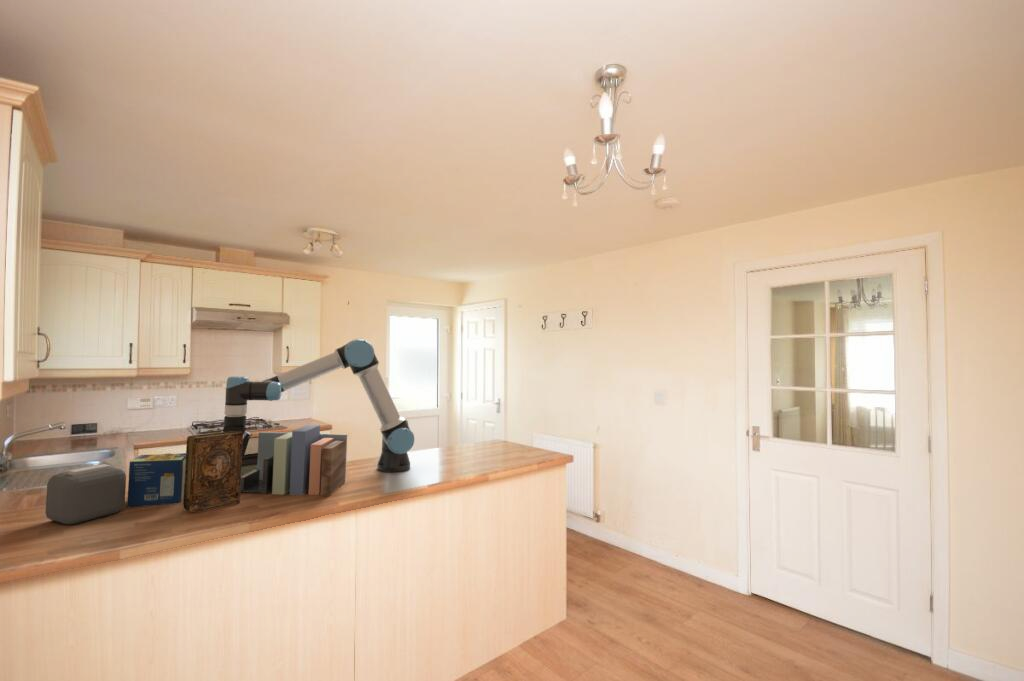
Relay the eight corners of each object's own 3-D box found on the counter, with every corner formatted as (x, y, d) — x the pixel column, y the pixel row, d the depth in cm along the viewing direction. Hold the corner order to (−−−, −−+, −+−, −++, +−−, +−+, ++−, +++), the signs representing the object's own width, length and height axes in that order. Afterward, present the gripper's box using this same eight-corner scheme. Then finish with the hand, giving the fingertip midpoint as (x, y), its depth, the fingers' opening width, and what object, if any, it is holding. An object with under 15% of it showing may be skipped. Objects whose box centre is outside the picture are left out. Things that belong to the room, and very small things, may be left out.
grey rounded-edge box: (107, 506, 158) (109, 460, 158) (128, 512, 154) (130, 464, 154) (44, 522, 143) (47, 471, 143) (66, 528, 139) (69, 476, 139)
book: (235, 499, 170) (238, 430, 170) (242, 502, 166) (245, 432, 167) (182, 510, 157) (186, 436, 157) (189, 514, 153) (192, 438, 154)
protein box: (138, 497, 168) (140, 454, 168) (188, 494, 173) (190, 452, 174) (125, 507, 158) (128, 461, 158) (179, 503, 164) (181, 459, 164)
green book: (300, 483, 192) (302, 432, 193) (284, 494, 177) (286, 439, 178) (289, 482, 192) (291, 431, 192) (272, 494, 177) (274, 438, 178)
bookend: (285, 481, 192) (286, 450, 193) (266, 493, 176) (267, 459, 177) (256, 481, 192) (258, 449, 192) (235, 493, 176) (236, 458, 176)
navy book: (317, 483, 192) (320, 425, 193) (302, 494, 177) (305, 431, 178) (305, 483, 192) (307, 424, 193) (289, 494, 177) (292, 431, 178)
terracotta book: (331, 484, 192) (333, 438, 193) (319, 494, 178) (321, 444, 179) (322, 483, 192) (324, 437, 192) (308, 494, 178) (310, 444, 178)
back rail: (345, 482, 195) (347, 434, 196) (344, 482, 194) (346, 434, 195) (258, 480, 194) (260, 432, 195) (256, 481, 193) (258, 432, 193)
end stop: (344, 483, 194) (345, 439, 194) (329, 496, 177) (331, 448, 177) (335, 483, 194) (337, 439, 194) (320, 495, 177) (322, 448, 177)
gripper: (257, 414, 188) (253, 473, 188) (224, 413, 188) (220, 472, 187) (247, 417, 181) (243, 478, 180) (213, 416, 180) (209, 477, 180)
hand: (232, 475), depth 184 cm, fingers closed
